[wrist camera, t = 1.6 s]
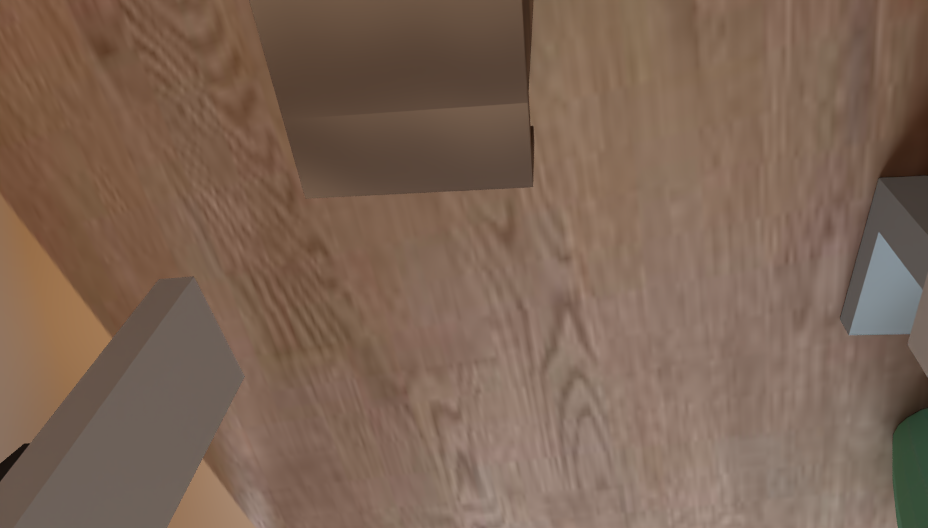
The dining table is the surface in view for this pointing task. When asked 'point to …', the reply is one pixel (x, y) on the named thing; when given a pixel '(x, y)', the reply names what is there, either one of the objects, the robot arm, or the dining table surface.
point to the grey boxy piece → (890, 260)
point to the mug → (911, 471)
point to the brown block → (402, 93)
